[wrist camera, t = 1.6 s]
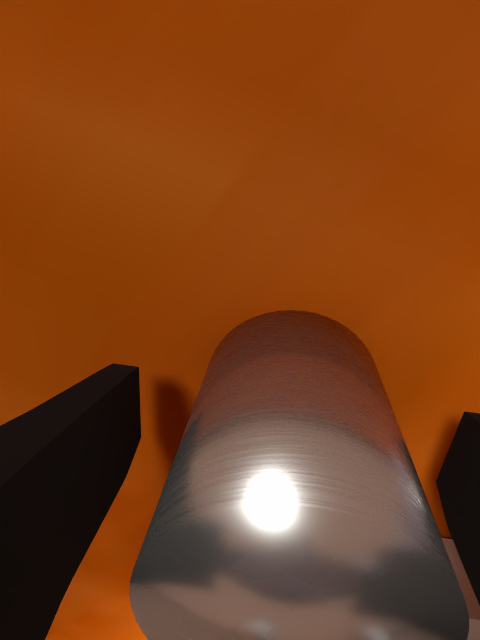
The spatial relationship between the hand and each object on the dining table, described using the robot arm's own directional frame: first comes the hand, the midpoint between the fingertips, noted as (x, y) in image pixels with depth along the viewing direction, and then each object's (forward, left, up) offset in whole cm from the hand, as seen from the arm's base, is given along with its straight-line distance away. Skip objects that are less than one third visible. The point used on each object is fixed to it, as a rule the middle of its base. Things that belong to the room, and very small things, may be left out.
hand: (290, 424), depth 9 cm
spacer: (0, 0, -2) cm, 2 cm away
